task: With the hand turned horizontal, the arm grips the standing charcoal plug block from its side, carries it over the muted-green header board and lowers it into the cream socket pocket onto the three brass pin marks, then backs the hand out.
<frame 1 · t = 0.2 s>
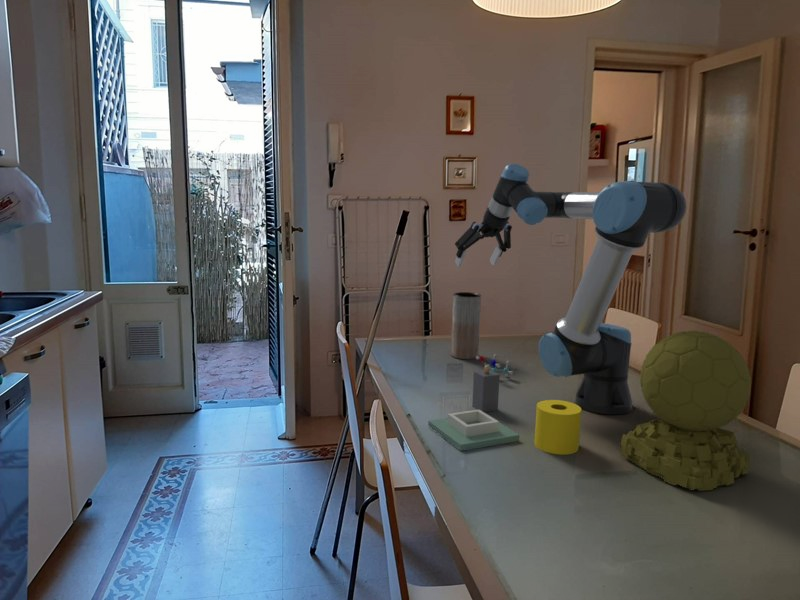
hand: (474, 264, 199), 35 cm above the table, tool tilted 35°, fingers open, 13 cm apart
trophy: (682, 466, 132), on the table
molecular model: (493, 379, 193), on the table
header board: (472, 433, 147), on the table
plug: (485, 408, 165), on the table
planter: (464, 356, 219), on the table
yellow hollow cylinder: (556, 446, 141), on the table
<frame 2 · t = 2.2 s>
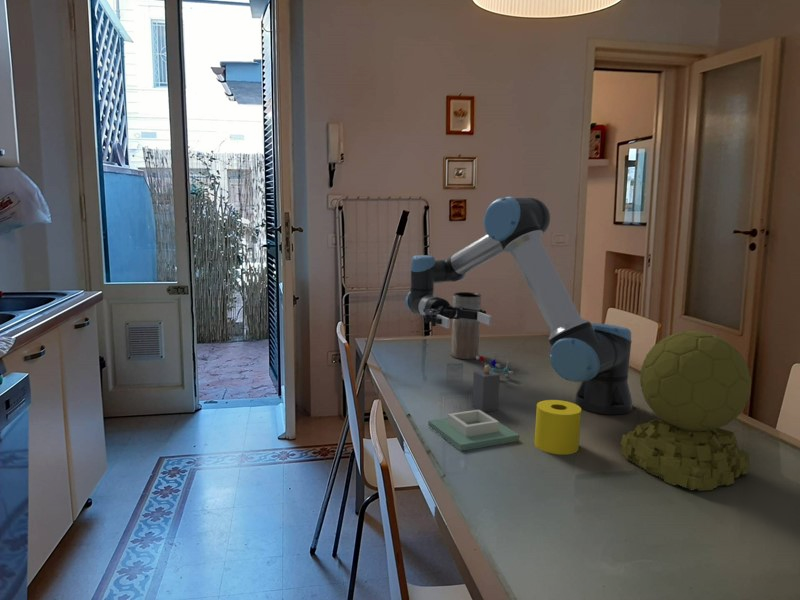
hand: (469, 322, 170), 22 cm above the table, tool horizontal, fingers open, 13 cm apart
nothing on the table moved.
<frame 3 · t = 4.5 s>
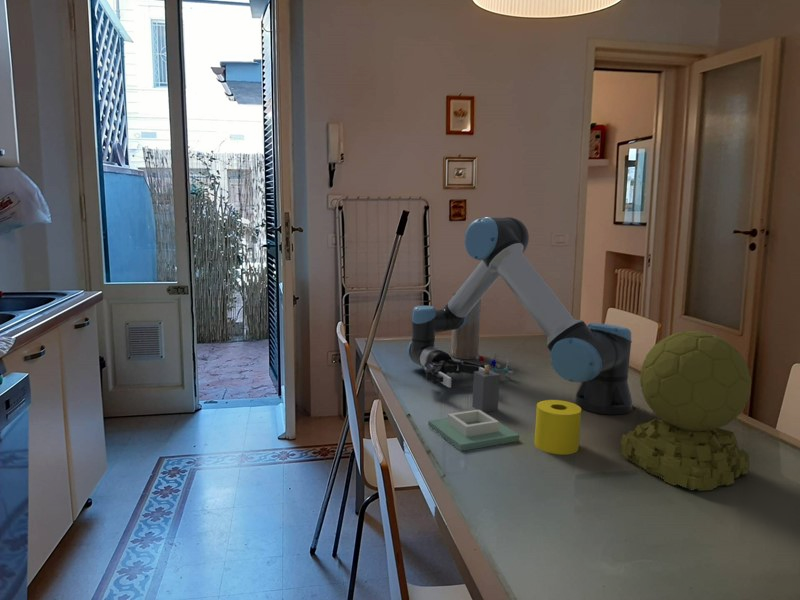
hand: (471, 380, 170), 6 cm above the table, tool horizontal, fingers open, 13 cm apart
nothing on the table moved.
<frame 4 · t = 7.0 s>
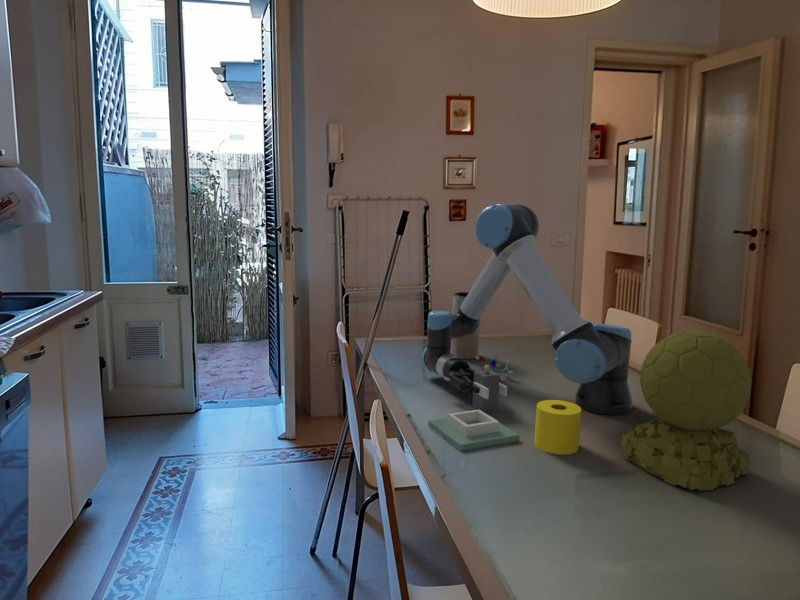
hand: (496, 392, 159), 6 cm above the table, tool horizontal, fingers closed on plug, 5 cm apart
plug: (485, 408, 165), on the table, touching gripper
everything else where it was.
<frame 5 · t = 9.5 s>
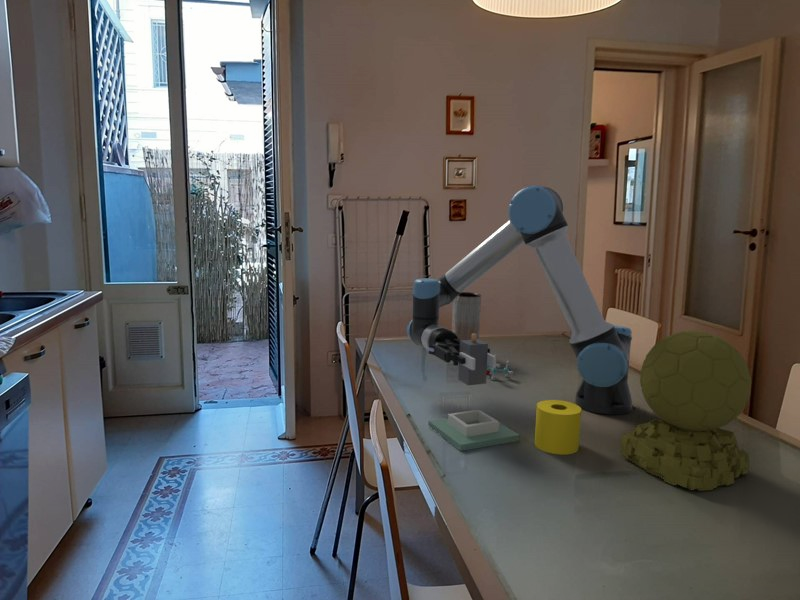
hand: (484, 363, 143), 18 cm above the table, tool horizontal, fingers closed on plug, 5 cm apart
plug: (472, 381, 149), point 12 cm above the table, touching gripper
everything else where it was.
when the fingers open (9 cm above the table, at t = 12.1 s): plug drops 1 cm, resting on header board.
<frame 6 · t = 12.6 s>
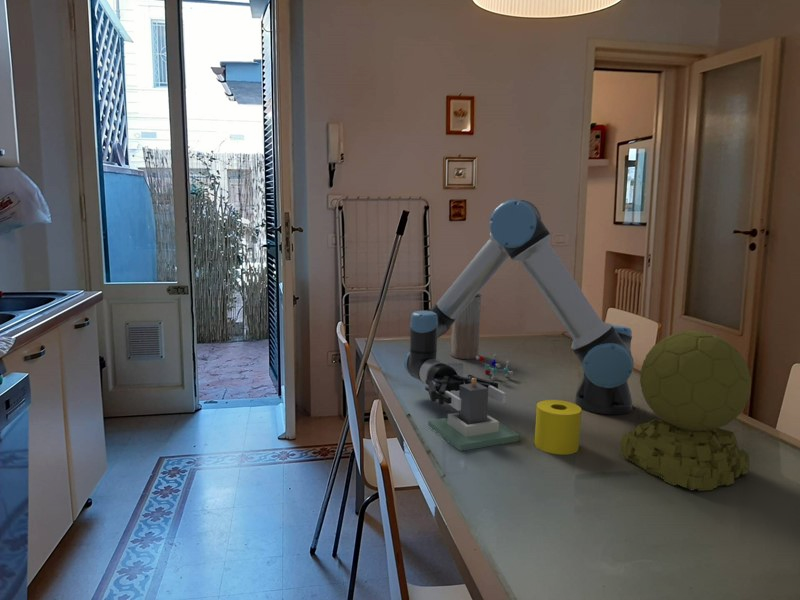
hand: (482, 401, 142), 9 cm above the table, tool horizontal, fingers open, 11 cm apart
plug: (472, 426, 147), point 2 cm above the table, touching header board
everything else where it was.
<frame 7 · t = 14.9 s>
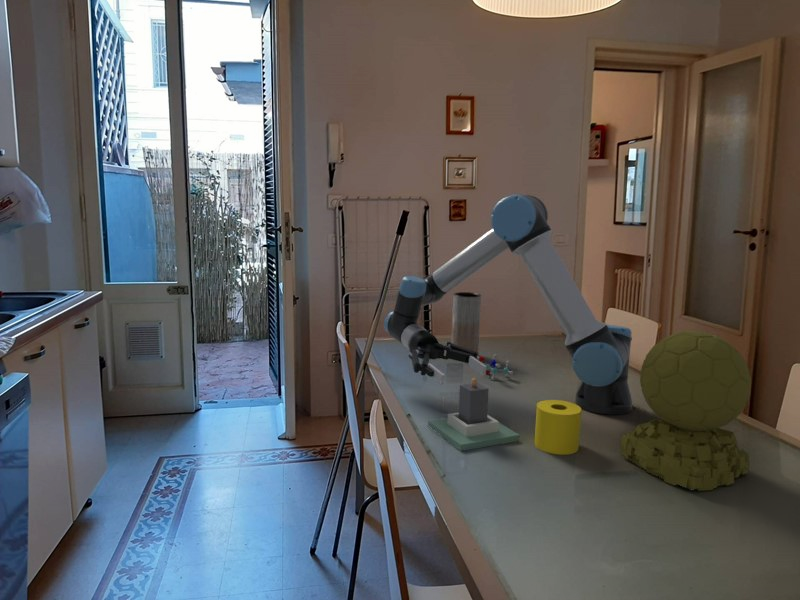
hand: (464, 375, 155), 12 cm above the table, tool horizontal, fingers open, 13 cm apart
nothing on the table moved.
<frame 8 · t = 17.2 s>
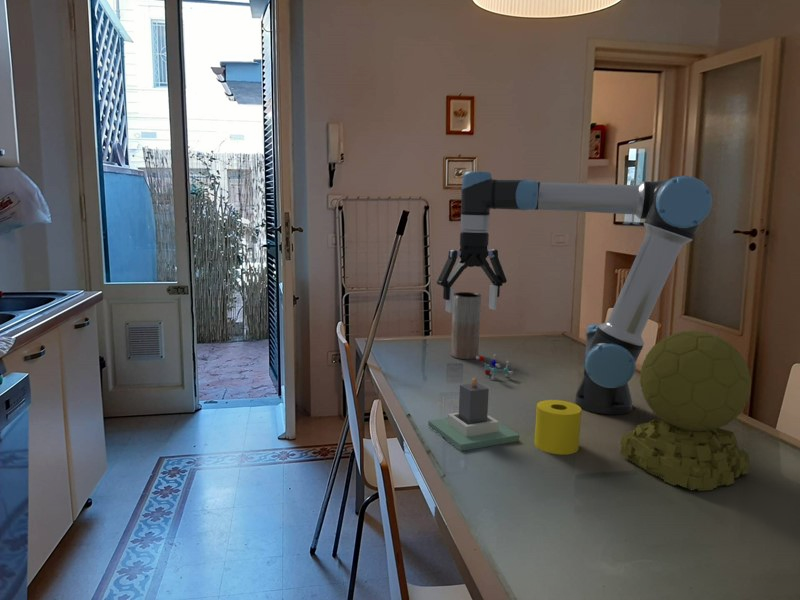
hand: (471, 310, 162), 27 cm above the table, tool pointing down, fingers open, 13 cm apart
nothing on the table moved.
at the end: plug 0.1 cm off-centre on the header board, point 1.8 cm above the header board's base; plug tilted 0°; the gripper is holding nothing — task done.
